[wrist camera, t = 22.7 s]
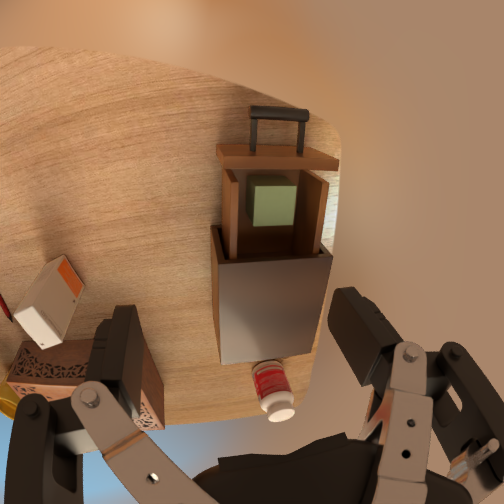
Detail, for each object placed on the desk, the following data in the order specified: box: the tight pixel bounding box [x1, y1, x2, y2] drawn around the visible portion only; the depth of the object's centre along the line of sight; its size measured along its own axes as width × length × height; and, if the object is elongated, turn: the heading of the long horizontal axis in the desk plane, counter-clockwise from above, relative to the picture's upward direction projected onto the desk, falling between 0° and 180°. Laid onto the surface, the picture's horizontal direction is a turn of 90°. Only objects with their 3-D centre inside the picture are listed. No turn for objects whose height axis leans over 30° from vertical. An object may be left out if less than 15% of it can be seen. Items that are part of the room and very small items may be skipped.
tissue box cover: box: [6, 336, 165, 430], centre depth 41 cm, size 26×14×10 cm, turn 92°
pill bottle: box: [252, 361, 295, 422], centre depth 49 cm, size 6×6×11 cm
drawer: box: [216, 105, 339, 260], centre depth 32 cm, size 19×11×8 cm, turn 177°
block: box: [246, 175, 297, 226], centre depth 33 cm, size 4×4×4 cm
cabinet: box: [210, 225, 333, 365], centre depth 38 cm, size 16×13×10 cm
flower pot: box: [0, 371, 21, 420], centre depth 40 cm, size 10×10×10 cm
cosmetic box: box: [13, 255, 85, 349], centre depth 31 cm, size 6×4×12 cm
